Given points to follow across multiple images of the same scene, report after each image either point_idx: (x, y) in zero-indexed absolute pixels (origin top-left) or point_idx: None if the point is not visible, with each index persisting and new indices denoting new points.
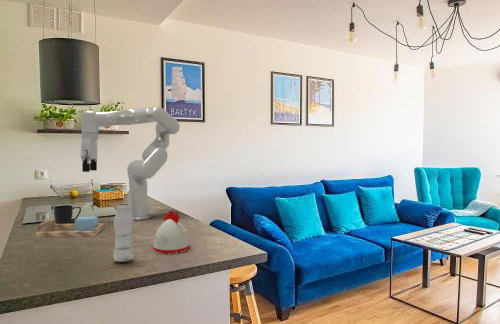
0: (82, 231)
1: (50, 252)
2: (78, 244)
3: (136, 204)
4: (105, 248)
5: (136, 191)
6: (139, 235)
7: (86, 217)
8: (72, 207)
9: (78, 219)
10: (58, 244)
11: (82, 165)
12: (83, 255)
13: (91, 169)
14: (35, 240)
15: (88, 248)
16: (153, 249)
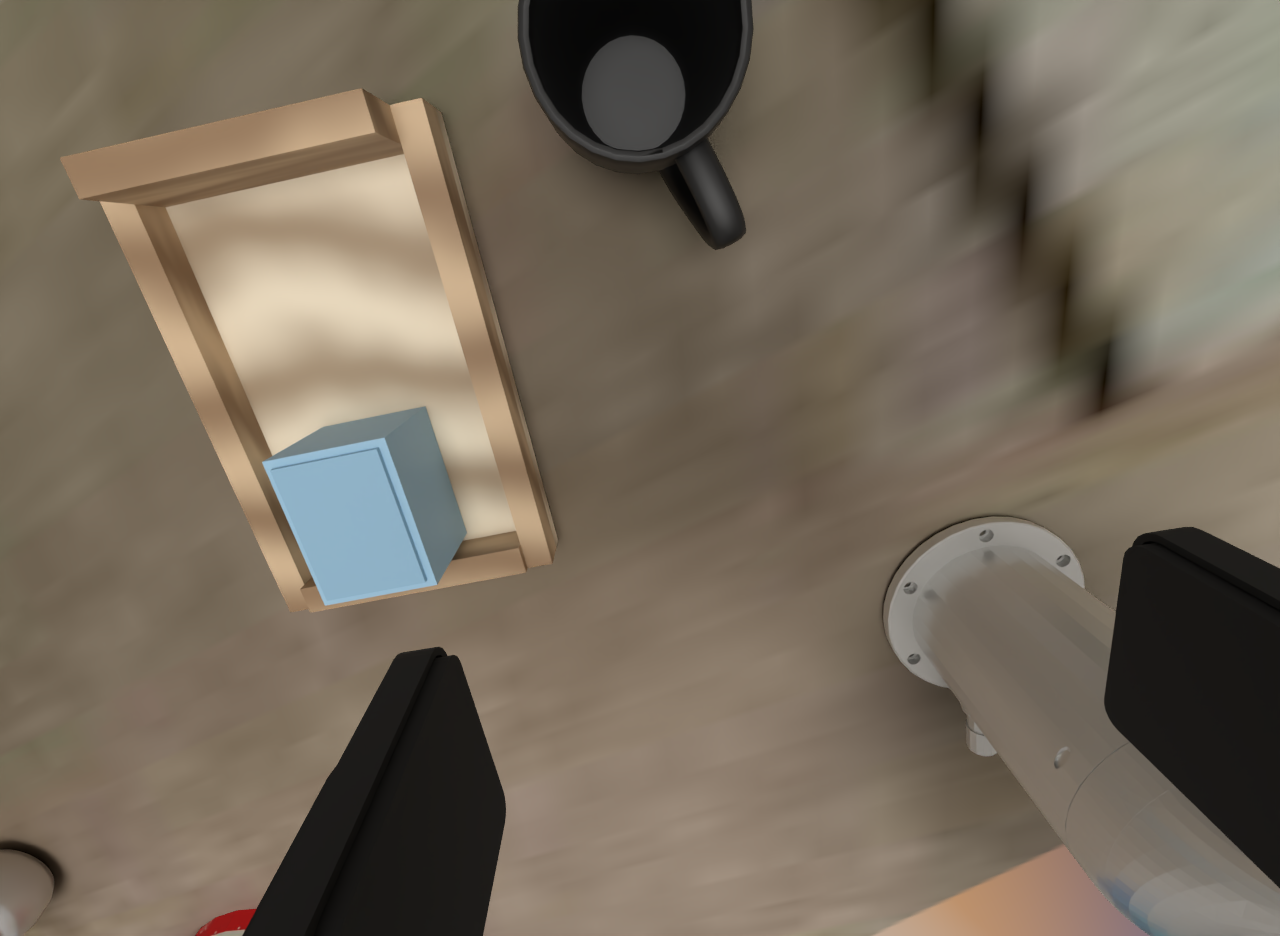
0: (265, 528)
1: None
2: (163, 555)
3: (969, 699)
4: (158, 725)
5: (1058, 813)
6: None
7: (363, 520)
8: (682, 154)
9: (279, 489)
10: (109, 434)
11: (295, 853)
12: (6, 683)
13: (1143, 601)
14: None
15: (119, 648)
16: (210, 925)
